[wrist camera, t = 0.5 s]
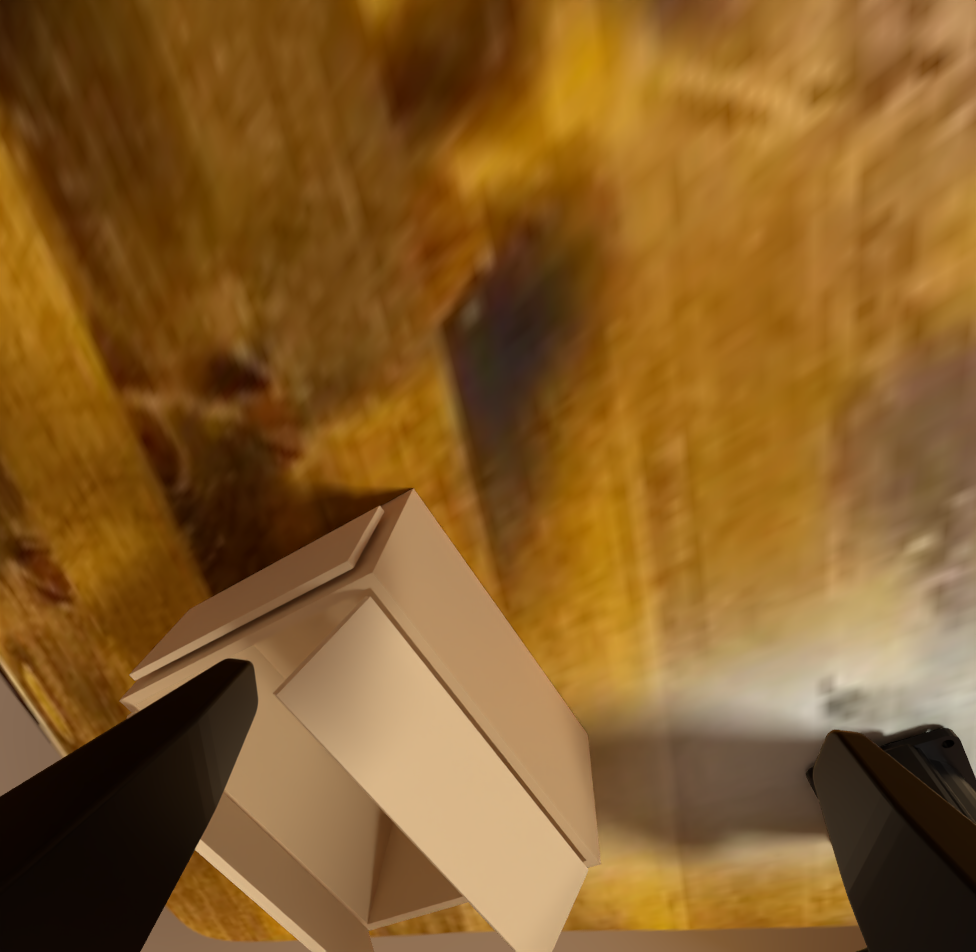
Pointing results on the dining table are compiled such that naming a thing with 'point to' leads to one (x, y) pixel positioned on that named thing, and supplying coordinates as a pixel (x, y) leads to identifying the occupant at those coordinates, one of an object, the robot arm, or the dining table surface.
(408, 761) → the tan cardboard box flap
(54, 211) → the dining table surface
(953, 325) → the dining table surface
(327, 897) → the flap camera side
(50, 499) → the dining table surface
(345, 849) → the carton
